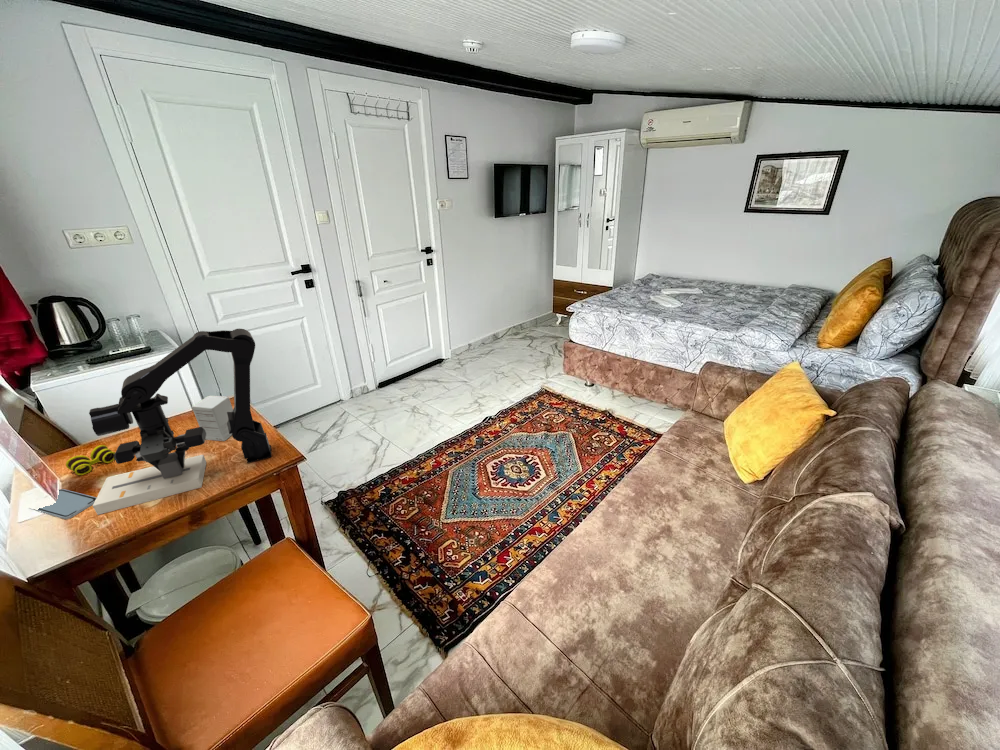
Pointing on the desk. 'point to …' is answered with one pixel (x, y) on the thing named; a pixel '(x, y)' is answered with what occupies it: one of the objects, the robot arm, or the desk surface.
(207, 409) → the supplement box
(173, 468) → the block
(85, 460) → the opera glasses
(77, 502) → the smartphone
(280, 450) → the desk surface
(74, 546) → the desk surface
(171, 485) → the block
